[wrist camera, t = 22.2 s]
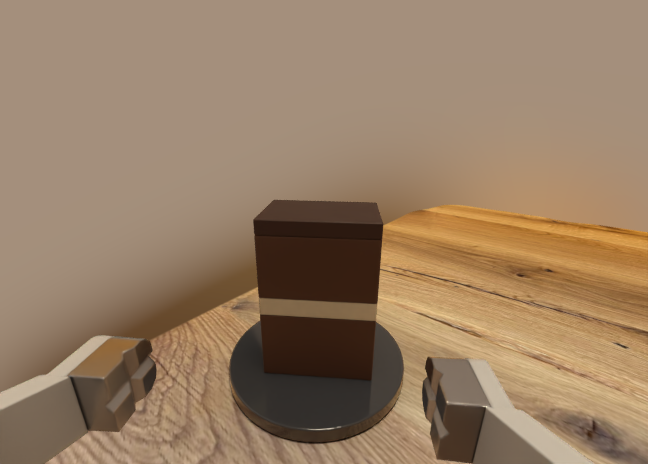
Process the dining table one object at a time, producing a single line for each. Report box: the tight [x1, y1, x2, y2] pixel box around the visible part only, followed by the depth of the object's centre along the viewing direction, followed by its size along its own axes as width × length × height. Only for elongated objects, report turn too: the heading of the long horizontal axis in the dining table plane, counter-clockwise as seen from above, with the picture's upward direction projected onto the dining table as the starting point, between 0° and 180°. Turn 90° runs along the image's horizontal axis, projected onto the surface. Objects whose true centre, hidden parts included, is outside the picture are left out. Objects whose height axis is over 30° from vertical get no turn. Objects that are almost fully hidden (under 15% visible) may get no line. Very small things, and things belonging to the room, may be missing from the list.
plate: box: [229, 321, 404, 442], centre depth 19 cm, size 10×10×1 cm
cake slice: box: [254, 200, 383, 380], centre depth 17 cm, size 4×6×9 cm, turn 85°
